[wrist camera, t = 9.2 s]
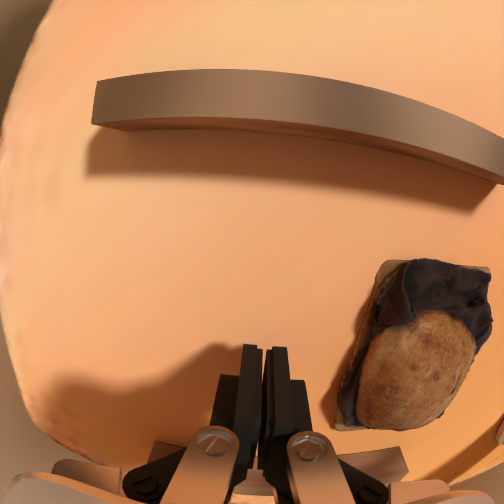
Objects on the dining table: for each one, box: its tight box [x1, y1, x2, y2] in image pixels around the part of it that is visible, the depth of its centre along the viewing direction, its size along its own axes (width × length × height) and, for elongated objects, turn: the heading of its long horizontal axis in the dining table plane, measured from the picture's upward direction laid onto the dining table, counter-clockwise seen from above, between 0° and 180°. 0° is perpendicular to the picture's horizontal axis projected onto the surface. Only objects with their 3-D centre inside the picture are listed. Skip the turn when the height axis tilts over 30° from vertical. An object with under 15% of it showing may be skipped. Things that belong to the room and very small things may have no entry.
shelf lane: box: [91, 69, 504, 496], centre depth 11 cm, size 17×21×2 cm
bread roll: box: [333, 258, 493, 431], centre depth 11 cm, size 11×8×4 cm
